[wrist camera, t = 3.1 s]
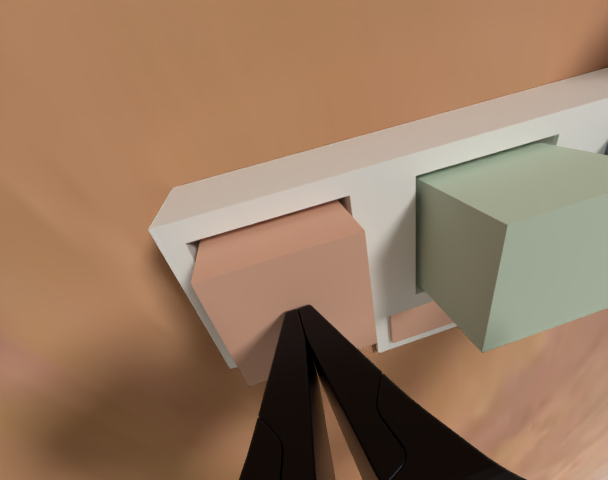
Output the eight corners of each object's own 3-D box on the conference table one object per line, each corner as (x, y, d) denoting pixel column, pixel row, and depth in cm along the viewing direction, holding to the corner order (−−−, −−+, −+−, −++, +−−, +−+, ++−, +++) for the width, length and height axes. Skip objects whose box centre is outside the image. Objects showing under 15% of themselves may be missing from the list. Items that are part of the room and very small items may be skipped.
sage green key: (514, 137, 11) (682, 169, 7) (496, 239, 14) (611, 306, 10) (401, 170, 11) (507, 225, 7) (404, 268, 14) (481, 352, 9)
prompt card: (471, 255, 18) (479, 260, 17) (463, 319, 21) (469, 325, 20) (369, 288, 17) (373, 295, 17) (376, 348, 20) (380, 356, 20)
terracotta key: (318, 179, 12) (364, 230, 8) (335, 268, 15) (377, 343, 10) (206, 211, 12) (190, 284, 7) (244, 296, 14) (248, 386, 10)
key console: (639, 58, 14) (775, 49, 10) (591, 192, 17) (679, 219, 14) (172, 187, 12) (148, 229, 8) (230, 306, 16) (230, 369, 12)
